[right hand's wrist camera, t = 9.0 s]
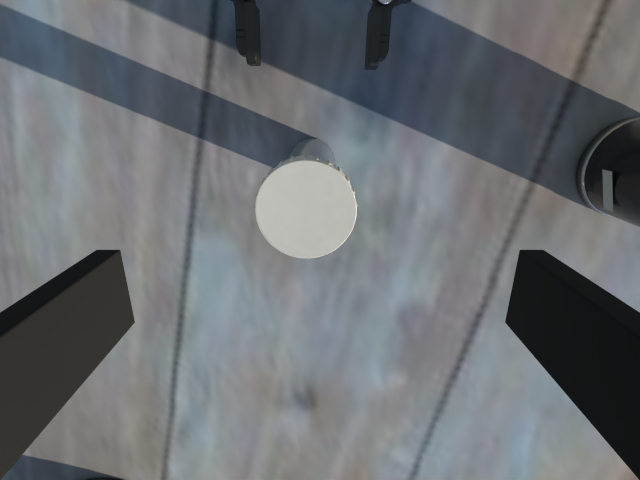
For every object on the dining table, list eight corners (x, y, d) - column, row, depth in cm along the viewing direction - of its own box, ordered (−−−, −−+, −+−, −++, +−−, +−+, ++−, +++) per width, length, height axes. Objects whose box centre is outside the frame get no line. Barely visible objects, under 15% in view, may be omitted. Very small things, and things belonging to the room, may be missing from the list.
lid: (284, 135, 19) (280, 138, 17) (372, 182, 20) (377, 189, 18) (243, 222, 20) (236, 232, 19) (327, 262, 21) (327, 275, 20)
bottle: (302, 130, 35) (286, 152, 18) (341, 151, 35) (362, 191, 18) (283, 170, 36) (251, 226, 19) (321, 189, 36) (323, 260, 20)
